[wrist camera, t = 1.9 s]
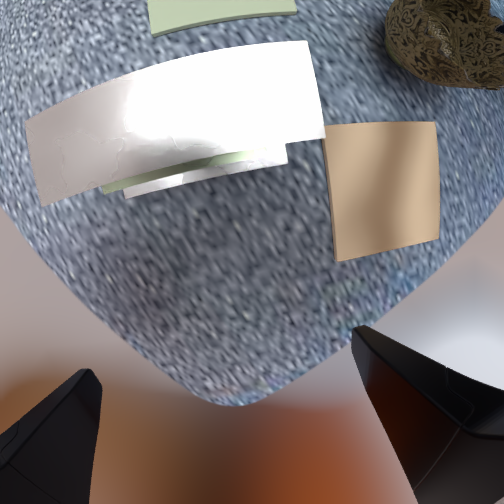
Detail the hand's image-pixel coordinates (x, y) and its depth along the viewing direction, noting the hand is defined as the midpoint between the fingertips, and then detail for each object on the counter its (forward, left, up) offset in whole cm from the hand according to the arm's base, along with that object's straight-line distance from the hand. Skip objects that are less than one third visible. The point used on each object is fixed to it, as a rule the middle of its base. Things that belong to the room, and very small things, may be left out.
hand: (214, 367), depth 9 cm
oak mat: (-12, -2, -11) cm, 16 cm away
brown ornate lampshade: (-15, -12, -11) cm, 22 cm away
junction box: (0, -7, -11) cm, 13 cm away
